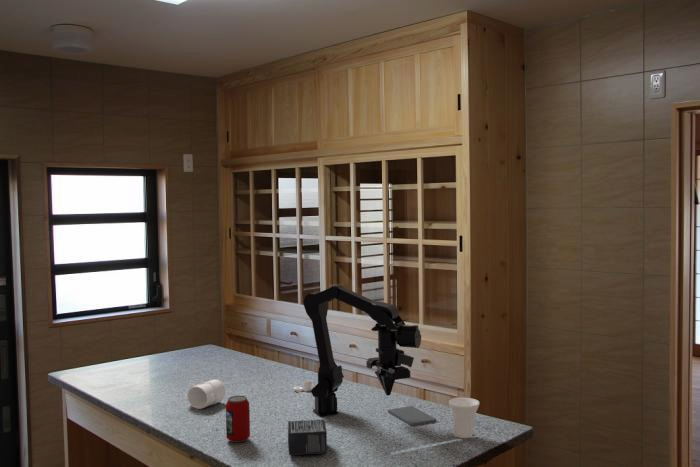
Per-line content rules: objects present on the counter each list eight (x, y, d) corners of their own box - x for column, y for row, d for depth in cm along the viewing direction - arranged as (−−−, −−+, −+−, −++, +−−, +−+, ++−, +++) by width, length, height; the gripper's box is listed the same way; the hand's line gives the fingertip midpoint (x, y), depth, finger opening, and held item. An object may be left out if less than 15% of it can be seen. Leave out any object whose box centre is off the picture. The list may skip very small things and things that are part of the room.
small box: (324, 441, 184) (288, 442, 183) (324, 418, 184) (287, 419, 183) (326, 454, 174) (287, 456, 173) (326, 430, 174) (287, 432, 173)
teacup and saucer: (290, 393, 233) (290, 382, 233) (300, 387, 240) (300, 377, 240) (312, 396, 230) (312, 384, 230) (322, 390, 237) (321, 379, 237)
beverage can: (227, 435, 190) (226, 395, 189) (250, 434, 190) (250, 394, 190) (225, 443, 183) (224, 402, 183) (249, 442, 184) (248, 401, 183)
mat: (411, 426, 195) (411, 423, 195) (387, 412, 209) (387, 409, 209) (436, 421, 199) (436, 419, 199) (411, 408, 213) (411, 405, 213)
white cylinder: (227, 404, 221) (226, 381, 221) (207, 411, 213) (207, 387, 213) (202, 399, 227) (201, 376, 227) (182, 406, 220) (181, 383, 219)
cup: (460, 442, 181) (460, 407, 181) (443, 432, 190) (442, 398, 189) (486, 437, 185) (486, 403, 184) (468, 427, 193) (468, 394, 193)
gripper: (425, 348, 195) (426, 399, 195) (395, 337, 212) (396, 384, 212) (392, 352, 190) (393, 404, 191) (365, 341, 207) (366, 389, 208)
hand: (388, 395), depth 200 cm, fingers closed
